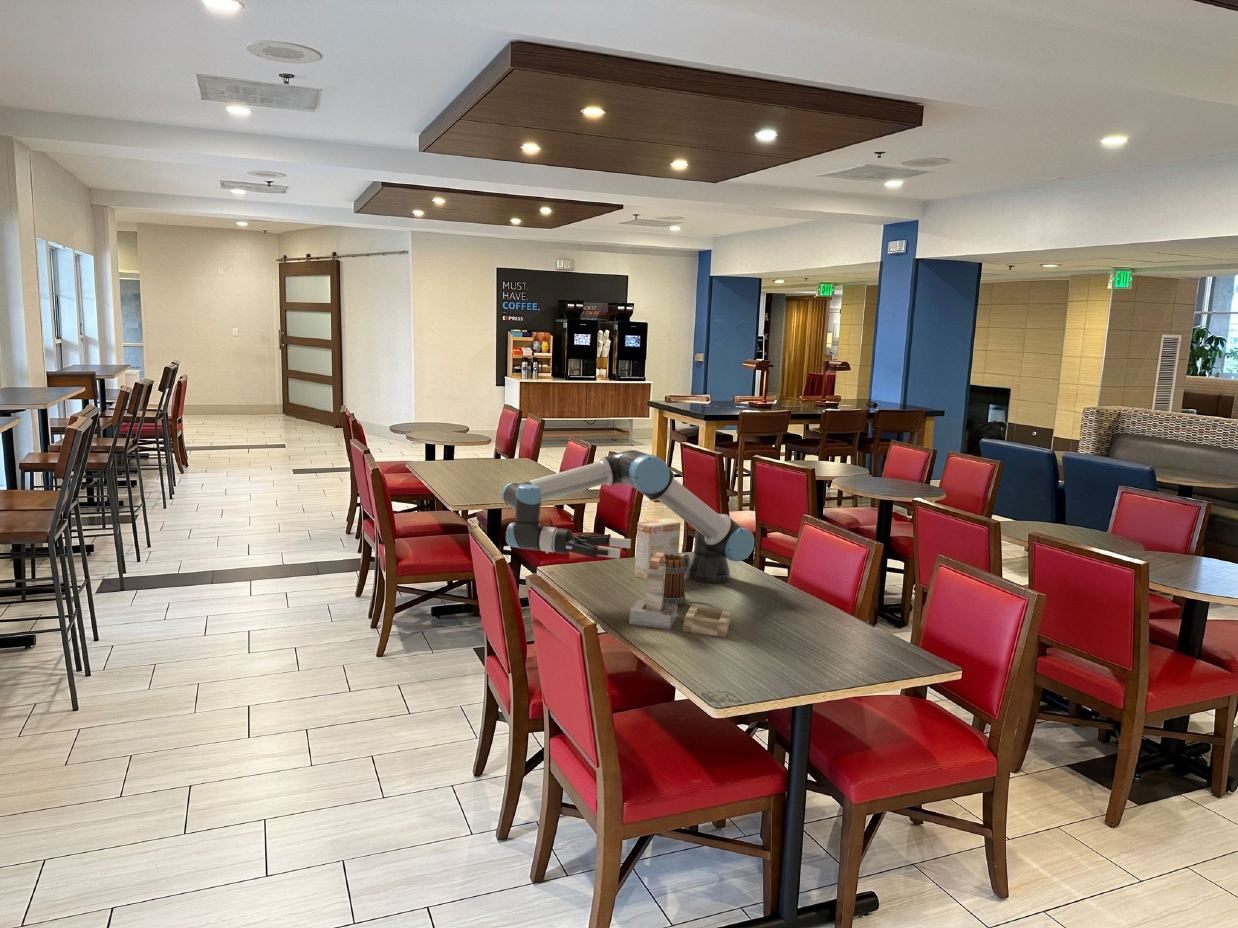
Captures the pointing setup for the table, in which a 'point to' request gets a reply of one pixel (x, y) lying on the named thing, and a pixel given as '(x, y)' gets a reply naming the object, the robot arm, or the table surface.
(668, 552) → the coffeecake box
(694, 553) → the robot arm
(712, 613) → the block
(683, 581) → the mug
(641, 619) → the plate
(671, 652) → the table surface
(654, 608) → the t-key
